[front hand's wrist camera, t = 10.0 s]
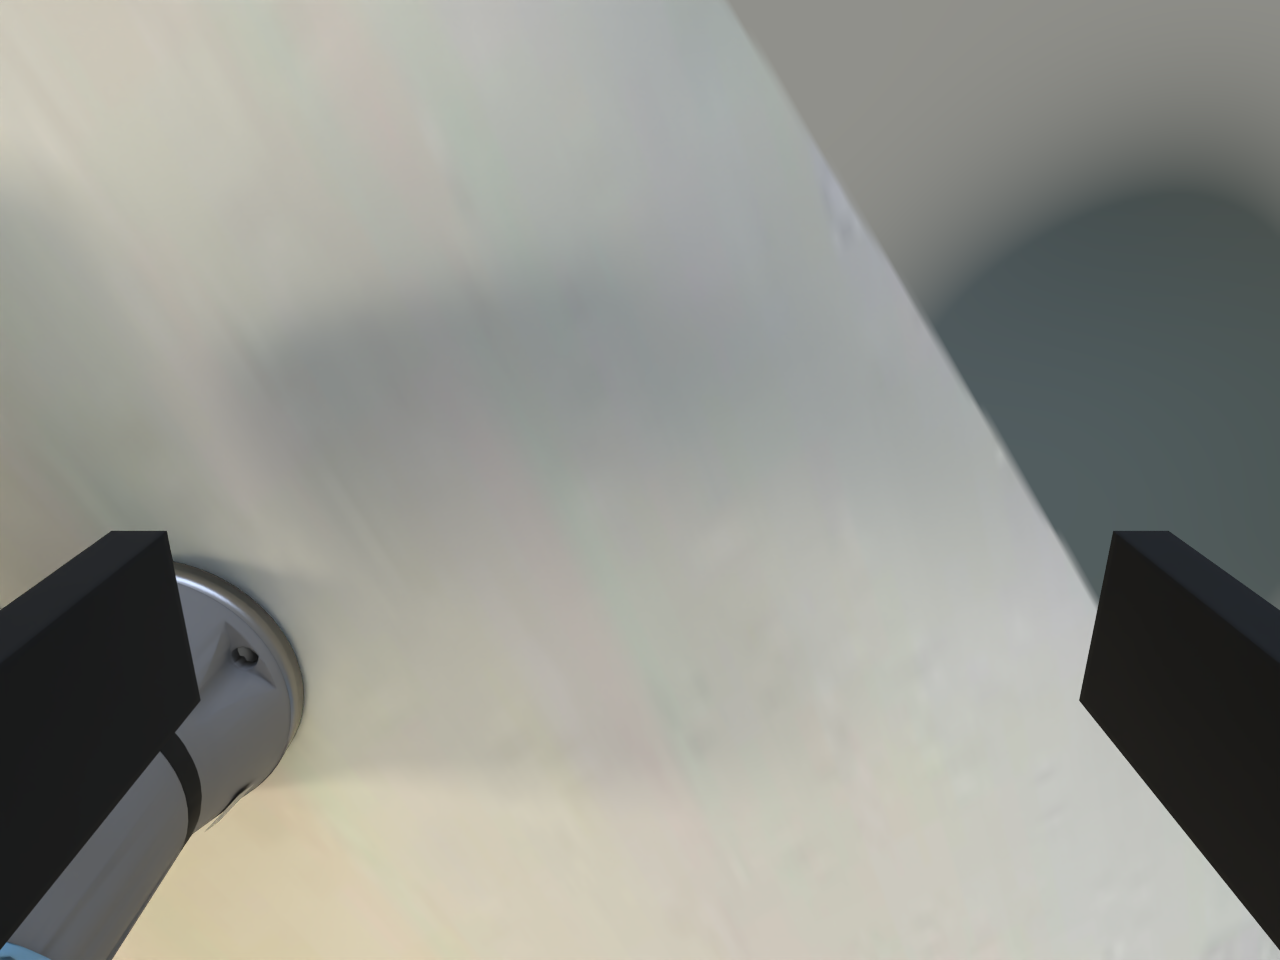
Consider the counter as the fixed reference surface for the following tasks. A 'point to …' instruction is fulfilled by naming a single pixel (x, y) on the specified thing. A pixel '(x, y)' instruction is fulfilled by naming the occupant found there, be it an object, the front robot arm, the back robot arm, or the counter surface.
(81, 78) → the counter surface
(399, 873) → the counter surface
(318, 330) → the counter surface
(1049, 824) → the counter surface
